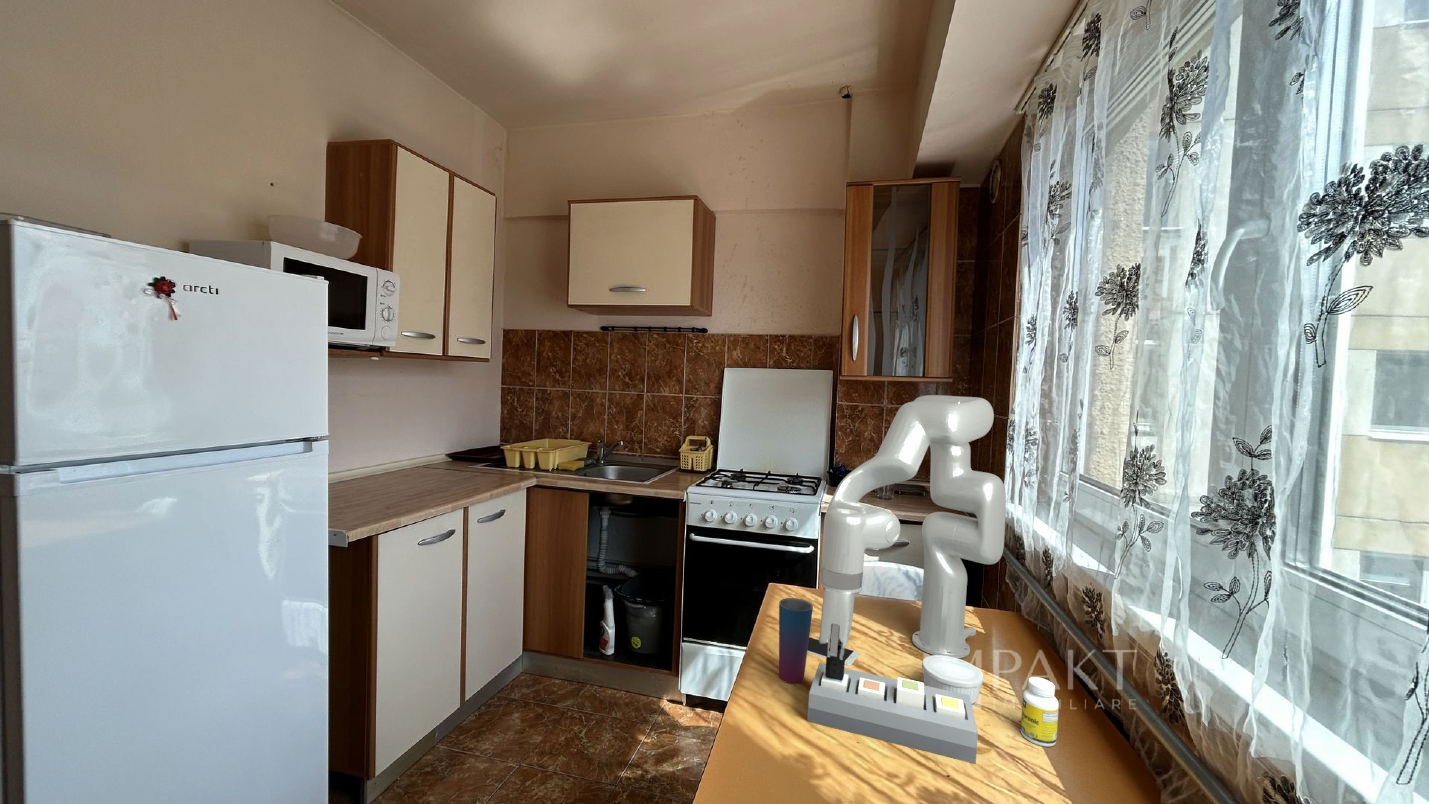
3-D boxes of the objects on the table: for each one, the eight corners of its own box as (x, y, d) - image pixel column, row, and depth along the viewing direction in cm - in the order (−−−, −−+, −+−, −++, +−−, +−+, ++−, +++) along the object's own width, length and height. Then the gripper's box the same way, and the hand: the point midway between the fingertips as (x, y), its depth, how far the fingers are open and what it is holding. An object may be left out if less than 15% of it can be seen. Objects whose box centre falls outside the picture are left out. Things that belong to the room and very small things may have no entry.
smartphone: (850, 665, 118) (786, 644, 126) (849, 668, 118) (785, 647, 126) (861, 652, 125) (799, 633, 133) (860, 655, 125) (799, 636, 133)
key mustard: (935, 724, 94) (937, 705, 94) (934, 710, 98) (935, 692, 98) (963, 731, 92) (965, 712, 92) (961, 716, 97) (962, 698, 96)
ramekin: (978, 687, 113) (979, 661, 113) (985, 716, 102) (987, 688, 102) (919, 674, 117) (921, 650, 116) (921, 701, 106) (923, 674, 106)
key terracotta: (857, 705, 98) (858, 688, 98) (859, 693, 102) (860, 676, 102) (883, 711, 97) (884, 693, 97) (883, 699, 101) (885, 681, 101)
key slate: (820, 697, 100) (821, 679, 100) (823, 685, 104) (824, 668, 104) (845, 702, 99) (846, 685, 99) (847, 690, 103) (848, 673, 103)
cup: (807, 688, 108) (812, 612, 108) (773, 683, 109) (777, 608, 109) (808, 671, 115) (813, 600, 114) (776, 666, 116) (780, 596, 116)
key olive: (896, 706, 96) (897, 687, 96) (896, 693, 100) (897, 676, 100) (923, 712, 94) (924, 693, 94) (922, 699, 99) (923, 681, 99)
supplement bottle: (1013, 728, 99) (1017, 674, 99) (1042, 728, 99) (1045, 674, 99) (1033, 748, 93) (1037, 690, 93) (1063, 748, 94) (1067, 691, 94)
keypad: (807, 721, 97) (809, 693, 97) (817, 688, 109) (819, 662, 108) (975, 763, 88) (977, 732, 88) (967, 722, 100) (969, 695, 100)
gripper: (826, 563, 109) (819, 655, 110) (814, 586, 95) (807, 692, 96) (865, 569, 107) (858, 663, 107) (859, 594, 93) (851, 702, 93)
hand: (834, 676), depth 101 cm, fingers closed
